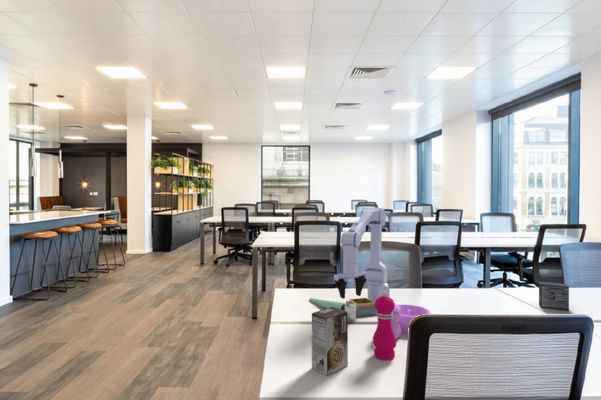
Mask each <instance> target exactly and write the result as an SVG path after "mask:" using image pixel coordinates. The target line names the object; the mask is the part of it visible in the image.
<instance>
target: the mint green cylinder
mask: <svg viewBox="0 0 601 400" xmlns="http://www.w3.org/2000/svg"><path fill="white" fill-rule="evenodd" d="M309 302H311V303H313V304H315V305H317V306H319V307H321V308H323V309H326V308H329V307H335V308H339V309H341V310H344V311H345V304H346V302H341V301H334V300H327V299H319V298H314V297H313V298H312V297H311V298H309Z"/></svg>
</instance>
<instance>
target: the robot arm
mask: <svg viewBox="0 0 601 400" xmlns="http://www.w3.org/2000/svg"><path fill="white" fill-rule="evenodd" d="M386 215H387V213H386V210H385V208H384V207H366V206H363V207H362V208H361V209H360V215H359V216H360V218H359V219H358V220H357V221H355V222H353V224H352V225H351V226H350V228H349V229H348V230H347V231H344V232H342V234H341V236H340V244H341V249H342V254H343V257H342V258H343V260H342V261H343V266H342V267H343V272H341V273H337V274H333V280H334V283H335V285H336V288H337V289H338V293H339V298H341V299H345V298H346V287H347V284H348V283H347V282H348V281H346V280H349V279H354V282H355V283H354V285H355V295H356V296H358V297H361V296H362V295H361V294H362V291H363V288H364V286H365V283H366V284H367V299H369V300H371V301H373V302H374V303H375V301H376V299H377V298H378V297H380V296H382V292H384V291H385V292H387V294H388V297H390V286H389V284H388V283H387V282H388V279H389V276H388V275H389V274H388V268H387V266H386V265H385V264H384V263H383V262H382V236H383V235H382V231H383V227H384V226H386V218H387V217H386ZM367 226H369V227H370V256H369V262H368V263H367V264H365V266H364V271H362V270H361V271H359V247H360V245H361V242H362V238H363V236H364V234H365V232H366V229H367Z"/></svg>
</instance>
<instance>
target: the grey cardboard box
mask: <svg viewBox="0 0 601 400" xmlns="http://www.w3.org/2000/svg"><path fill="white" fill-rule="evenodd" d="M348 323H349V322H348V321H347V311H344V310H341V309H339V308H335V307H329V308H326V309H325V308H323V309H321V310H318V311H315V312H312V313H311V369H312V370H315V371H316V372H319V373H321V374H323V375H325V376H329V375H331V374H333V373H335V372H337V371H339V370H341V369H344V368H345V367H347V366H348V365H349V361H348V359H349V358H348V354H349V353H348V352H349V351H348V349H349V348H348V345H349V344H348V342H349V341H348V340H349V339H348V335H349V333H348V328H349V327H348Z"/></svg>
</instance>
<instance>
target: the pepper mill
mask: <svg viewBox="0 0 601 400" xmlns="http://www.w3.org/2000/svg"><path fill="white" fill-rule="evenodd" d="M392 299H393V298H392V297H391V296H389V297H388V294H387V292H385V291H384V292H382V296H380V297H378V298H377V299H376V301H375V308H376V309H377V312H376V313H377V315H375V317H376V318H377V326H376V329H375V331H374V333H373V336H372V344H373V346H374V347H375V348H374V349H373V355H374V357H375V358H377V359H379V360H383V361H391V360H393V359H394V358H395V356H396V355H395V354H396V352H395V348H396V347H397V339H396V338H395V335H394V333H393V330H392V326H391V319H392V318H393V313H392V311H393V310H394V308H395V304H394V303H395V300H394V299H393V300H394V301H393V300H392Z"/></svg>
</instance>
